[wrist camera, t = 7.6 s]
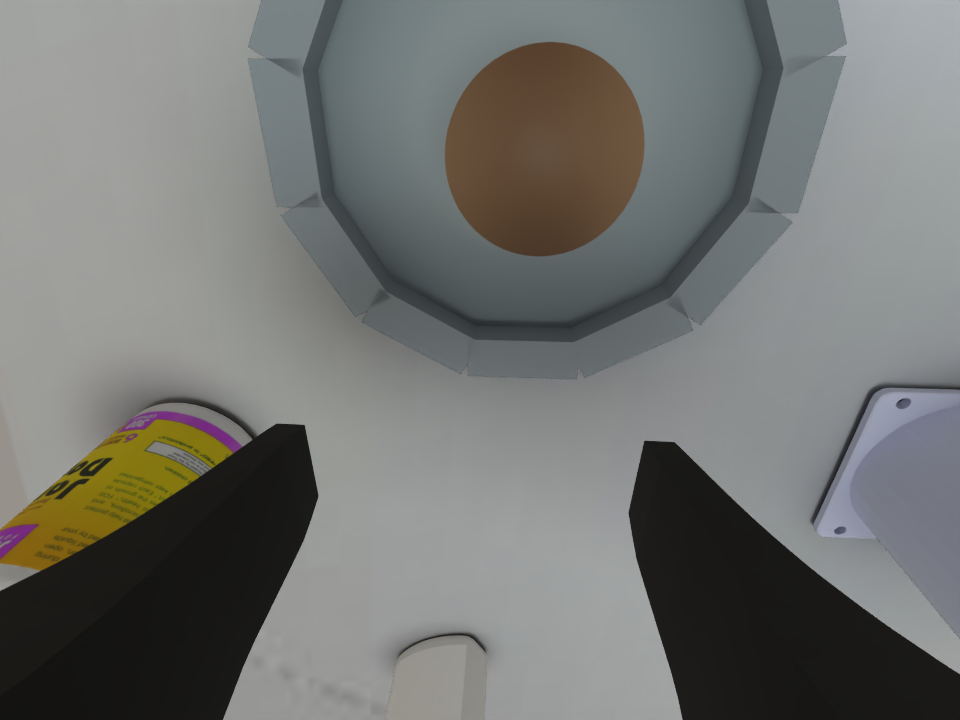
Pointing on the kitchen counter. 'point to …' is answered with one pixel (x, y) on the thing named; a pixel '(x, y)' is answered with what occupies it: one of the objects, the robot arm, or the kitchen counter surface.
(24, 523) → the supplement bottle
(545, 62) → the walnut cylinder
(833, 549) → the kitchen counter surface
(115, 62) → the kitchen counter surface
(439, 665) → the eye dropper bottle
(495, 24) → the slate dish
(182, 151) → the kitchen counter surface
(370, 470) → the kitchen counter surface
